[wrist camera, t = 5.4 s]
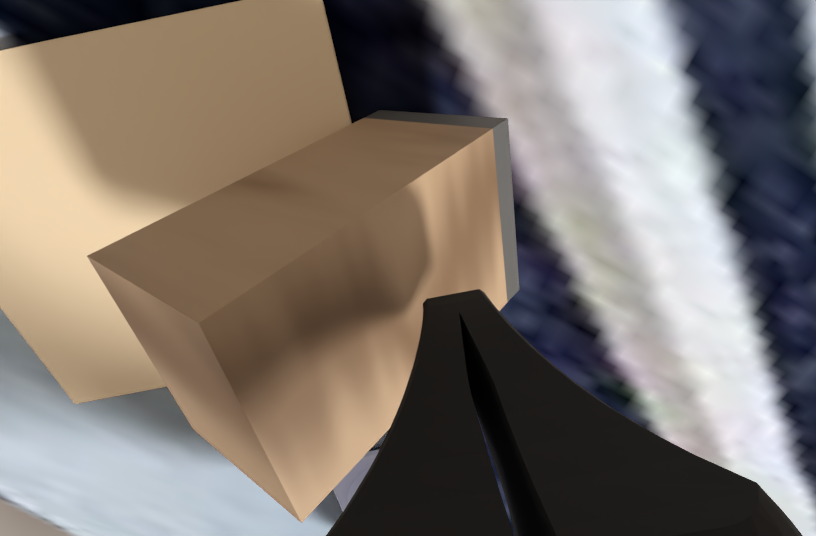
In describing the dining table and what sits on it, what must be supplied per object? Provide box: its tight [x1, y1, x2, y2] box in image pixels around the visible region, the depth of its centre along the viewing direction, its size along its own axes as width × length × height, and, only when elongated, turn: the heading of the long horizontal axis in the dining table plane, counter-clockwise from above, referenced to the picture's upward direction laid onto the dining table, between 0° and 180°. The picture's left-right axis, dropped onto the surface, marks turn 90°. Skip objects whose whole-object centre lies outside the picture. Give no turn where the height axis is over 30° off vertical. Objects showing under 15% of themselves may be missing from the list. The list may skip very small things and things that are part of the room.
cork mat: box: [0, 0, 352, 404], centre depth 19 cm, size 14×15×1 cm
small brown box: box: [87, 110, 519, 523], centre depth 14 cm, size 6×5×10 cm
